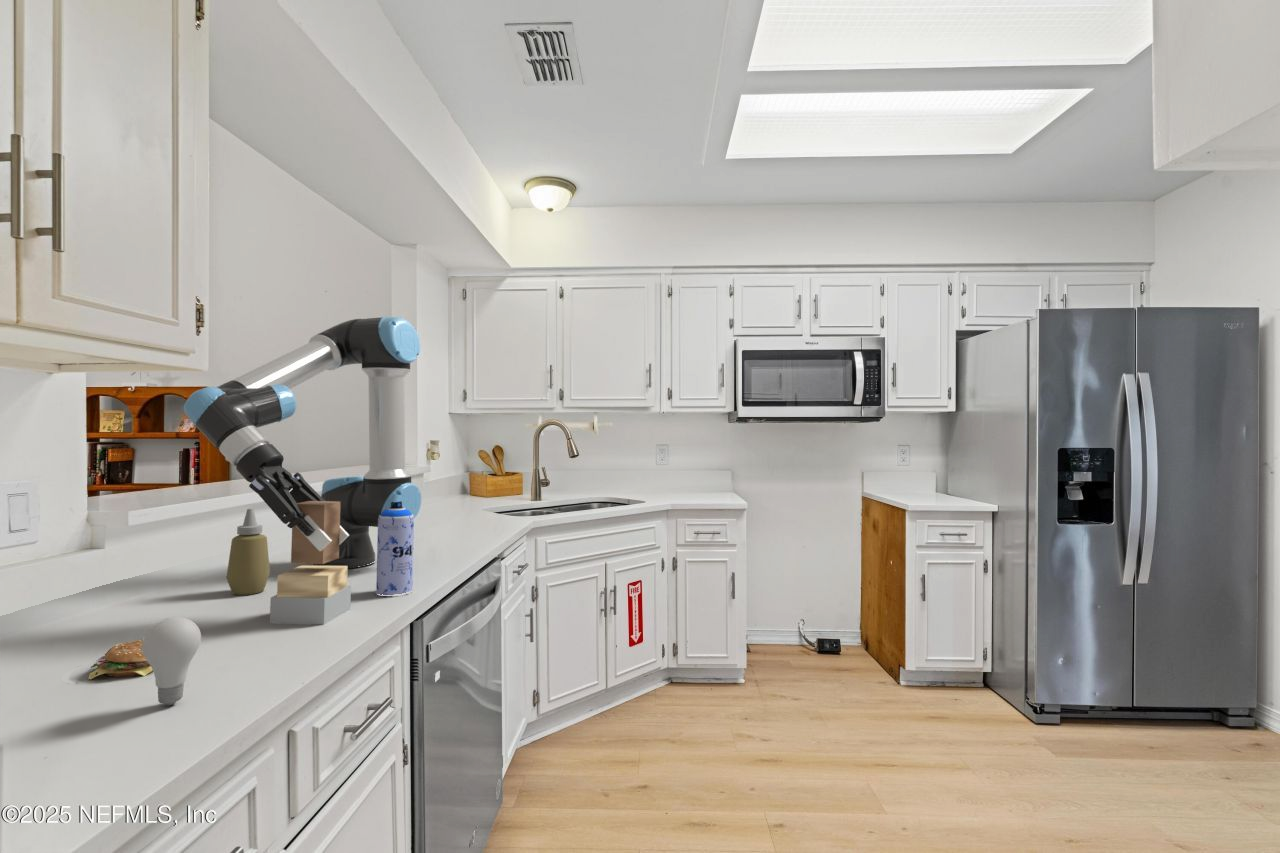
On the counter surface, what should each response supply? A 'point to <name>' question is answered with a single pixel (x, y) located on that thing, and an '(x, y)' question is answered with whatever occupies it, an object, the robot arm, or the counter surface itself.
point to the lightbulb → (171, 655)
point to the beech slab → (312, 581)
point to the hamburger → (123, 661)
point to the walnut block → (329, 522)
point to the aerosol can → (395, 550)
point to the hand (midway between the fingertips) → (334, 542)
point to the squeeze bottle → (248, 558)
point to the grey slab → (309, 608)
